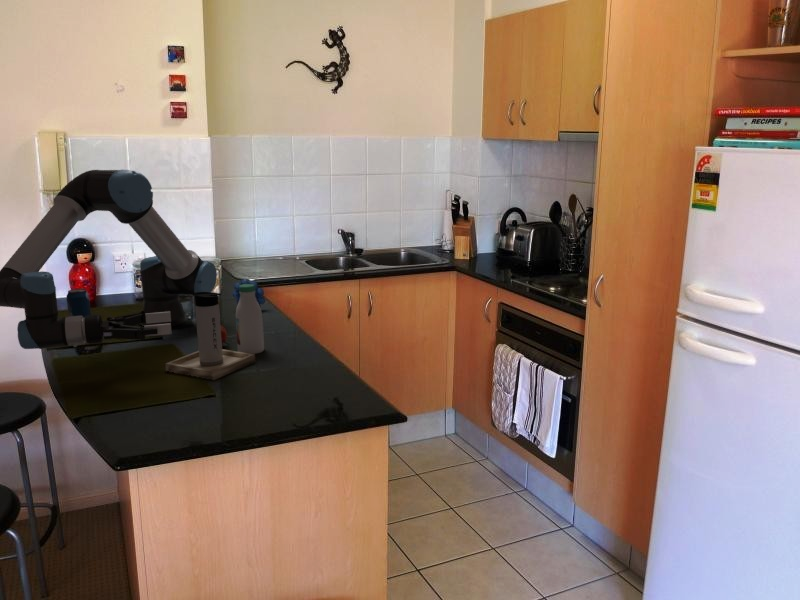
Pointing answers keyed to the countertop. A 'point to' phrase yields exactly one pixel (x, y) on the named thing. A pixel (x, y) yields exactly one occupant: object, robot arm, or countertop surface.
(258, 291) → the grapes
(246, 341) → the milk bottle
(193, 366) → the wood tray
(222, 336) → the pomegranate
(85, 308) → the soda can
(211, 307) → the travel mug
